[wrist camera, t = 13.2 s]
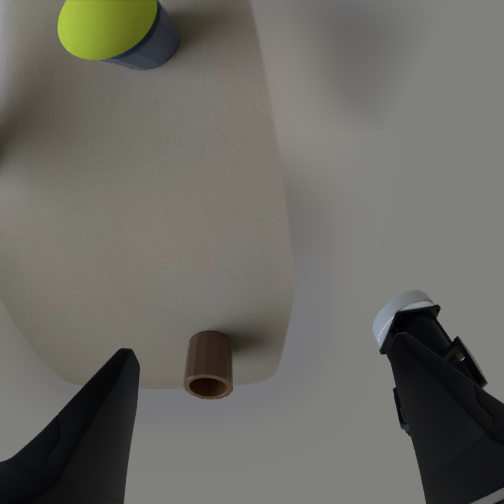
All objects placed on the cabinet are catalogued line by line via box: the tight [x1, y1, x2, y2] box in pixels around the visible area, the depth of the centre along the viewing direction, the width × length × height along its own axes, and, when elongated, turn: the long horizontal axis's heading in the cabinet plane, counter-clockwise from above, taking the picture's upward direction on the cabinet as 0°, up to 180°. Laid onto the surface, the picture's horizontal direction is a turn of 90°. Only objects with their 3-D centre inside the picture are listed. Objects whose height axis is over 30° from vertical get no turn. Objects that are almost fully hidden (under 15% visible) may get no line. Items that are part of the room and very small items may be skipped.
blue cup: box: [101, 0, 180, 70], centre depth 10 cm, size 4×4×5 cm
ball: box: [58, 0, 157, 60], centre depth 7 cm, size 4×4×4 cm
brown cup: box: [183, 331, 233, 400], centre depth 24 cm, size 4×4×5 cm
